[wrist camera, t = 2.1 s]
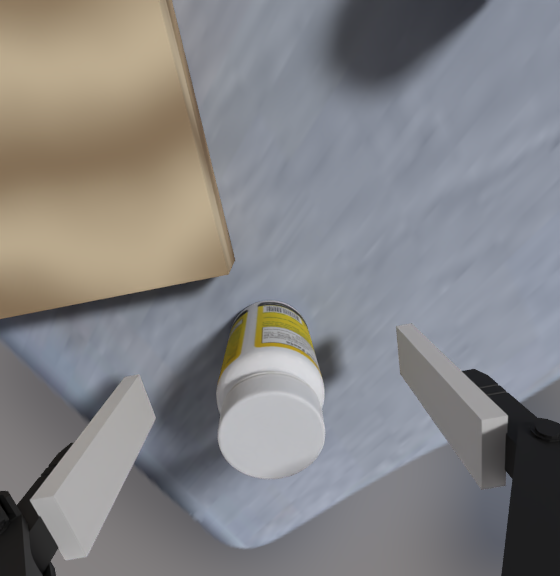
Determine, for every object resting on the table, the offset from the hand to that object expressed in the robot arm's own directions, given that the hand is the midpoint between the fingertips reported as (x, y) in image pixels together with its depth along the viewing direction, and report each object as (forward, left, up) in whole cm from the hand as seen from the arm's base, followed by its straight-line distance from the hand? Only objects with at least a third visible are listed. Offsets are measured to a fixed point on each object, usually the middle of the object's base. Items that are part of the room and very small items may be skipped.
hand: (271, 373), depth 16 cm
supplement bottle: (0, 0, -4) cm, 4 cm away
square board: (-12, -8, -4) cm, 15 cm away
